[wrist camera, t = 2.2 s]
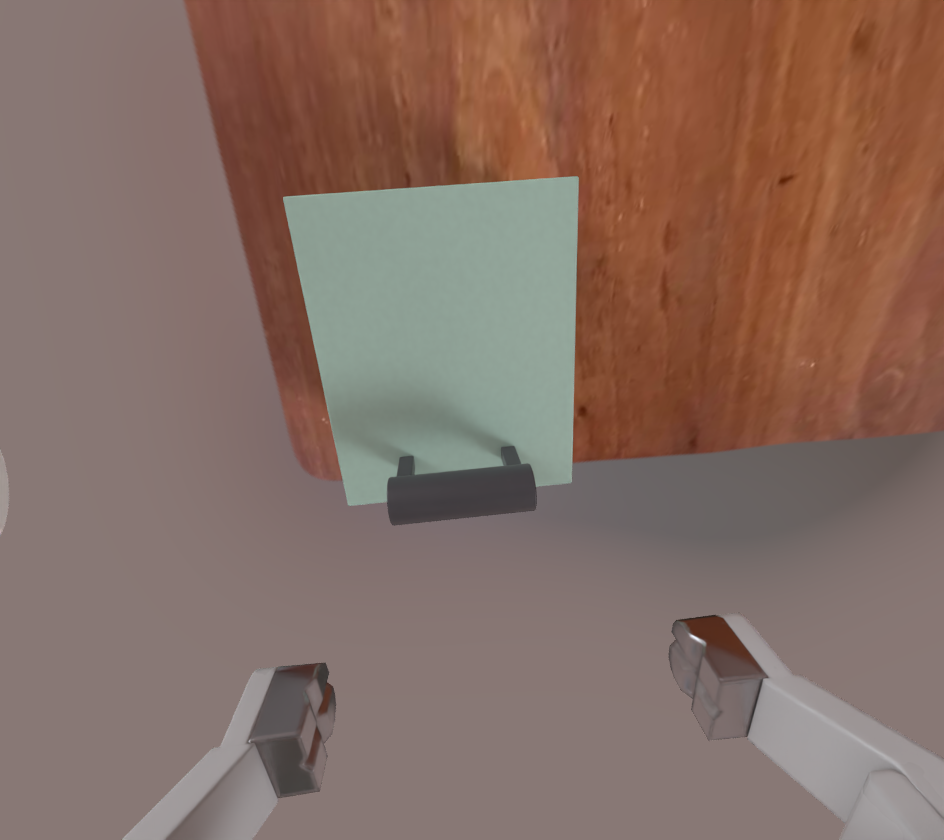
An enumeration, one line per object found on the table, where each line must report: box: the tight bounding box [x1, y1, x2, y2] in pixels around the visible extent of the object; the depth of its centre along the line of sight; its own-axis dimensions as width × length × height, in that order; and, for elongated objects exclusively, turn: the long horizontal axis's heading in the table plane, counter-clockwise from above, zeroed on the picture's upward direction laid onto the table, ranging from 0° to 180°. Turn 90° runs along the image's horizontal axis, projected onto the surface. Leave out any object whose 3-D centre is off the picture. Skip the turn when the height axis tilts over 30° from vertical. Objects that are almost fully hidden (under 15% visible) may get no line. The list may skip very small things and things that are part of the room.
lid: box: [283, 176, 579, 525], centre depth 18 cm, size 14×12×5 cm
